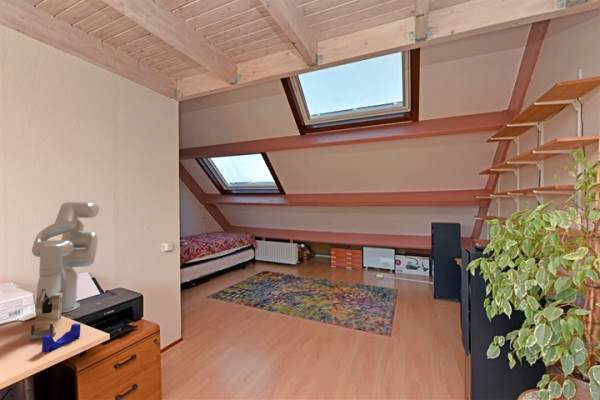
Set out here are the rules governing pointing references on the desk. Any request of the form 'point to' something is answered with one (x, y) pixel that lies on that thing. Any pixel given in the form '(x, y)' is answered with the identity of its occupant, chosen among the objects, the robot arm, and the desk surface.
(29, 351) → the desk surface
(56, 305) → the tan wooden block
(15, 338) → the desk surface
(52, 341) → the blue cradle stand
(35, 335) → the offcut rack
